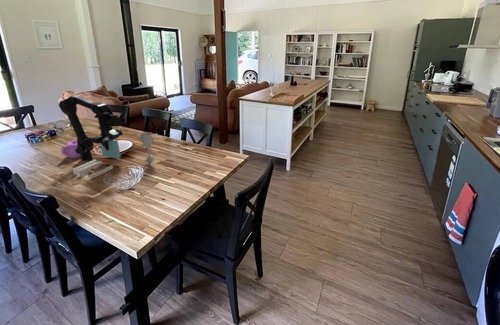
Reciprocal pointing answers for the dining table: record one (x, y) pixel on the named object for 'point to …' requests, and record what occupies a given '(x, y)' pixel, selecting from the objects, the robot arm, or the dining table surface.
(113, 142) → the teal flat block
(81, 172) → the rack
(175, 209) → the dining table surface
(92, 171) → the offcut stack
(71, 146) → the teapot
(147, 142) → the chalice
